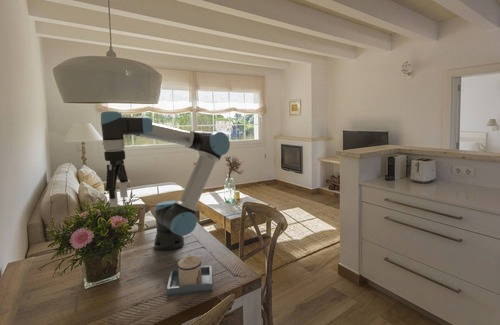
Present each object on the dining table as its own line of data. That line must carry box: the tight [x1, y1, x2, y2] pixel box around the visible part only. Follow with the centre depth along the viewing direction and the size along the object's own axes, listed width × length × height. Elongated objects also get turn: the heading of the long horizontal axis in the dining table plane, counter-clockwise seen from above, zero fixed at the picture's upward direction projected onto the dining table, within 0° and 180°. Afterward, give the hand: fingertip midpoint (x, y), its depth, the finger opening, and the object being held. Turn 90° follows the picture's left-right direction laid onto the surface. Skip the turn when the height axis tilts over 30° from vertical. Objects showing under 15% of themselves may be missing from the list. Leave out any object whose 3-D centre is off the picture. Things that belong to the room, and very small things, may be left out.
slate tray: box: [166, 265, 213, 297], centre depth 110 cm, size 14×17×3 cm
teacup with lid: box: [176, 254, 202, 286], centre depth 109 cm, size 12×9×12 cm
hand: (119, 201), depth 114 cm, fingers open, 13 cm apart
